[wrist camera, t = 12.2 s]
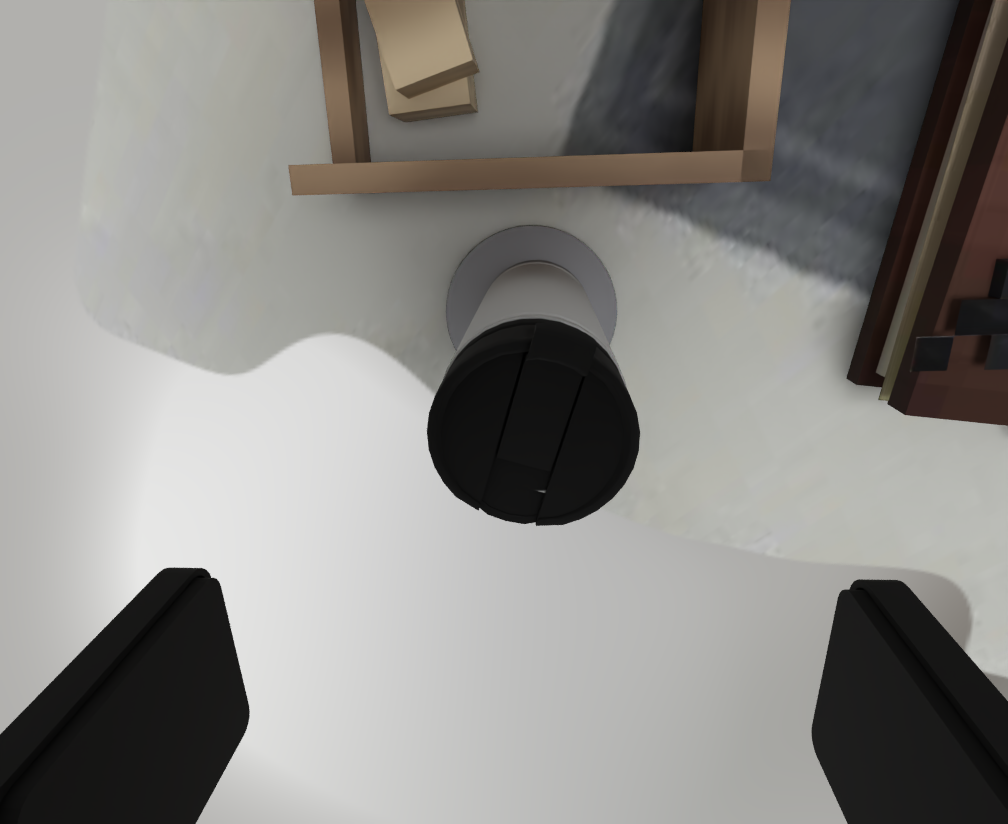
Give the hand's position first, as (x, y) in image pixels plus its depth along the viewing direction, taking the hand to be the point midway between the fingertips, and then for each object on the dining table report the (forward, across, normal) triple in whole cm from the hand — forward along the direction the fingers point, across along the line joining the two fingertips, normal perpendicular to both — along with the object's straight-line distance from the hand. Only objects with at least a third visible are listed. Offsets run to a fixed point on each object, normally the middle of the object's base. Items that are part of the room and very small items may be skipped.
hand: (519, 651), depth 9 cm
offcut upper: (+25, +6, -15) cm, 30 cm away
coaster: (+29, +1, +1) cm, 29 cm away
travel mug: (+28, 0, +1) cm, 28 cm away
